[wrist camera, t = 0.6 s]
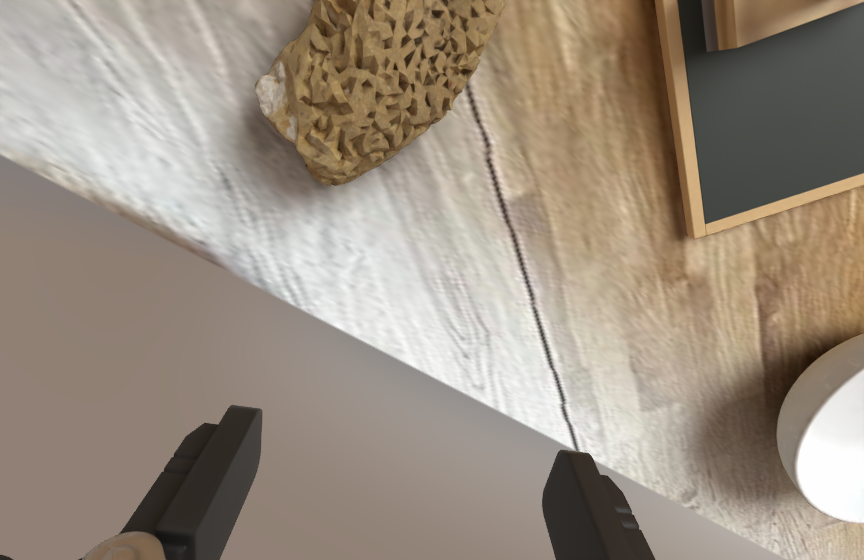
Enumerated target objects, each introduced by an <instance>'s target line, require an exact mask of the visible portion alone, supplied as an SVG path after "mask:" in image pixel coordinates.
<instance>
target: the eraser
mask: <svg viewBox="0 0 864 560" xmlns="http://www.w3.org/2000/svg"><path fill="white" fill-rule="evenodd" d="M701 2H702V12H703V21H704V31H705V40H706V50H707V52H711V51H718V50H726V49H733V48H739V47H742V46H744V45H747V44H750V43H752V42H755V41H758V40H761V39H763V38H766V37H769V36H772V35H774V34H777V33H780V32H783V31H785V30H788V29H791V28H794V27H796V26H799V25H802V24H805V23H807V22H810V21H813V20H816V19H818V18H821V17H824V16H827V15H829V14H832V13H835V12H838V11H840V10H843V9H846V8H848V7H851V6H854V5H857V4H859V3H862V2H864V0H701Z"/></svg>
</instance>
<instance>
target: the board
mask: <svg viewBox="0 0 864 560" xmlns="http://www.w3.org/2000/svg"><path fill="white" fill-rule="evenodd" d="M655 7H656V14H657V21H658V29H659V36H660V43H661V50H662V57H663V64H664V72H665V79H666V86H667V93H668V100H669V107H670V115H671V122H672V129H673V136H674V143H675V151H676V158H677V165H678V172H679V179H680V186H681V194H682V201H683V208H684V215H685V222H686V229H687V235H688V236H690V237H692V238H694V239H696V238H700V237H703V236H706V235H709V234H712V233H716V232H719V231H722V230H725V229H728V228H731V227H734V226H737V225H741V224H744V223H747V222H750V221H753V220H756V219H759V218H762V217H765V216H769V215H772V214H775V213H778V212H781V211H784V210H787V209H790V208H793V207H797V206H800V205H803V204H806V203H809V202H812V201H815V200H818V199H822V198H825V197H828V196H831V195H834V194H837V193H840V192H843V191H846V190H850V189H853V188H856V187H859V186H862V185H864V2H862V3H859V4H857V5H854V6H851V7H848V8H846V9H843V10H840V11H838V12H835V13H832V14H829V15H827V16H824V17H821V18H818V19H816V20H813V21H810V22H807V23H805V24H802V25H799V26H796V27H794V28H791V29H788V30H785V31H783V32H780V33H777V34H774V35H772V36H769V37H766V38H763V39H761V40H758V41H755V42H752V43H750V44H747V45H744V46H742V47H739V48H733V49H726V50H718V51H711V52H707V50H706V40H705V31H704V21H703V12H702V2H701V0H655Z"/></svg>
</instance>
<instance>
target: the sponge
mask: <svg viewBox="0 0 864 560" xmlns="http://www.w3.org/2000/svg"><path fill="white" fill-rule="evenodd" d="M505 5H506V3H505V0H315V3H314V5H313V8H312V11H311V15H310V18H309V21H308V24H307V27H306V28H305V30H304V31H303V33H302V34H301V36H300V37H299V38H298V39H296V40H293V41H292V42H290V43H288V44H287V46H286V47H285V48H284V49H283V50H282V52H281V53H280V54H279V56H278V57H277V58H276V59H275V60H274V63H273V66H272V68H271V70H270V71H269V73H268V74H267V75H264V76H262V77H261V78H260V79H259V80H258V82H257V83H256V85H255V91H256V94H257V97H258V99H259V101H260V107H261V109H262V111H263V113H264V115H265V117H266V118H267V119H268V120H269V121H270V122H271V124H272V125H273V126H274V127H275V129H276V130H277V131H278V132H280V133H281V134H282V135H283V136H284V138H285V139H287V140H289V141H291V142H293V143H295V146H296V150H297V152H298V153H299V154H300V155H301V156H302V157H303V159H304V161H305V162H306V165H305V166H306V167H307V168H308V170H309V171H310V173H311V174H312V175H313V177H314V178H315V179H316V180H317V181H319V182H320V183H322V184H325V185H329V186H331V184H332V185H335V186H337V185H341V184H345V183H348V182H351V181H353V180H354V179H356V178H358V177H359V176H361V175H362V174H364V173H365V172H367V171H369V170H371V169H373V168H375V167H377V166H380V165H381V164H382V163H383V162H385V161H386V160H388V159H389V158H391V157H393V156H394V155H396V154H398V153H399V150H400V149H401V148H403V147H404V146H406V145H408V144H409V143H410V142H411V141H413V140H414V139H416V138H417V137H418V136H420V135H421V134H422V133H424V132H425V131H427V129H428V128H429V127H430V125H431V124H433V123H434V124H435V123H437V122H438V121H439V120H441V119H442V118H443V117H444V116H445V115H446V114H447V110H451V109H452V107H453V101H454V100H455V98H456V97H457V95H458V94H459V93H461V92H462V89H463V87H464V86H465V84H466V82H467V81H468V80H469V79H470V77H471V76H472V74H473V73H474V72H475V70H476V69H477V65H478V64H479V62H480V59H479V57H478V56H480V54H481V53H482V51H483V49H484V48H485V45H486V44H487V42H488V41H489V39H490V37H491V35H492V32H493V30H494V28H495V26H496V24H497V22H498V19H499V17H500V15H501V13H502V11H503V9H504V7H505Z"/></svg>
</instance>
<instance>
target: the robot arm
mask: <svg viewBox="0 0 864 560" xmlns="http://www.w3.org/2000/svg"><path fill="white" fill-rule="evenodd" d="M261 431H262V410H261V409H259V408H251V407H244V406H236V405H231V406H230V407H229V408H228V410H227V411H226V413H225V415H224V416H223V418H222V420H221V421H220V423H219V424H218V425H216V424H209V423H204V424H202V425H201V426H200V427H198V428H197V429H196V430H194V431H193V432H192V433H190V434H189V435H187V436H186V437H185V439H184V440H183V442H182V443H181V445H180V446H179V448H178V449H177V451H176V452H175V453H174V457H172V458H171V459H170V461H169V462H168V464H167V465H166V467H165V468H164V472H162V473H161V474H160V475H159V477H158V478H157V480H156V481H155V483H154V484H153V486H152V487H151V489H150V490H149V492H148V493H147V495H146V496H145V498H144V499H143V501H142V502H141V504H140V505H139V506H138V508H137V509H136V511H135V512H134V514H133V515H132V517H131V518H130V520H129V521H128V523H127V524H126V526H125V527H124V528H123V530H122V531H121V532H120V533H119V534H118V535H116V536H114V537H111V538H109V539H107V540H105V541H103V542H101V543H100V544H98V545H97V546H96V547H94V548H93V549H92V550H91V551H90V552H88V553H87V554H86V555H85V557H84V558H81V559H79V560H219V559H220V557H221V555H222V552H223V550H224V548H225V546H226V543H227V541H228V539H229V536H230V534H231V531H232V529H233V527H234V525H235V522H236V520H237V518H238V515H239V513H240V511H241V508H242V506H243V504H244V501H245V499H246V497H247V495H248V492H249V490H250V487H251V485H252V483H253V481H254V478H255V475H256V472H257V468H258V465H259V460H260V453H261ZM542 507H543V514H544V518H545V522H546V525H547V529H548V533H549V536H550V540H551V543H552V547H553V550H554V554H555V558H556V560H655V558H654V556H653V554H652V551H651V549H650V547H649V545H648V543H647V541H646V539H645V537H644V535H643V533H642V531H641V530H639V525H638V523H637V521H636V519H635V517H634V515H632V511H631V508H630V506H629V504H628V502H627V500H626V498H625V496H624V494H623V492H622V491H621V490H620V489H619V488H618V487H617V486H616V485H615V483H614V482H613V481H612V480H611V479H610V478H609V477H608V476H605V475H600V474H599V471H598V469H597V467H596V465H595V462H594V460H593V458H592V456H591V455H590V454H589V453H583V452H576V451H568V450H560V451H559V452H558V454H557V456H556V459H555V462H554V464H553V467H552V470H551V472H550V475H549V478H548V480H547V483H546V486H545V488H544V491H543V499H542ZM0 560H13V559H11V558H9V557H7V556H4V555H0Z"/></svg>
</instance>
